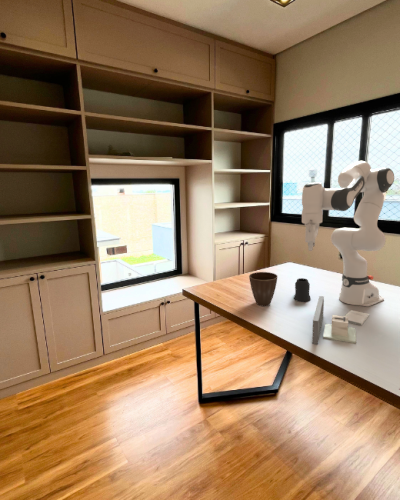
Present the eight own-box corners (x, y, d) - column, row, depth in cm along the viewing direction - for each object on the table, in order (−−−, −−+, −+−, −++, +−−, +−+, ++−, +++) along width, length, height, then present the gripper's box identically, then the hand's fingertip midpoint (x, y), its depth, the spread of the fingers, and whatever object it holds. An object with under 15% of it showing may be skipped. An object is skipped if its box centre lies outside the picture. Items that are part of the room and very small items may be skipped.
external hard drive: (341, 321, 134) (350, 312, 143) (361, 326, 128) (368, 316, 137) (341, 318, 133) (350, 309, 142) (361, 323, 128) (369, 313, 137)
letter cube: (332, 327, 126) (332, 314, 125) (347, 330, 123) (348, 316, 122) (331, 334, 121) (331, 320, 120) (347, 336, 118) (348, 322, 117)
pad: (325, 325, 130) (325, 323, 130) (355, 329, 125) (355, 328, 125) (322, 338, 120) (323, 336, 120) (355, 343, 114) (355, 341, 114)
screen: (318, 315, 140) (319, 296, 138) (323, 316, 140) (323, 296, 138) (312, 343, 116) (312, 320, 114) (317, 344, 115) (318, 321, 113)
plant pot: (277, 299, 164) (277, 272, 160) (277, 310, 150) (277, 280, 146) (251, 298, 168) (250, 271, 164) (248, 308, 154) (247, 279, 150)
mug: (313, 301, 157) (313, 282, 155) (296, 302, 158) (296, 282, 155) (306, 293, 169) (306, 275, 167) (290, 294, 169) (290, 276, 167)
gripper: (317, 221, 122) (316, 253, 124) (321, 216, 139) (320, 244, 142) (301, 221, 124) (301, 253, 127) (307, 216, 142) (306, 243, 145)
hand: (311, 248), depth 135 cm, fingers open, 8 cm apart
